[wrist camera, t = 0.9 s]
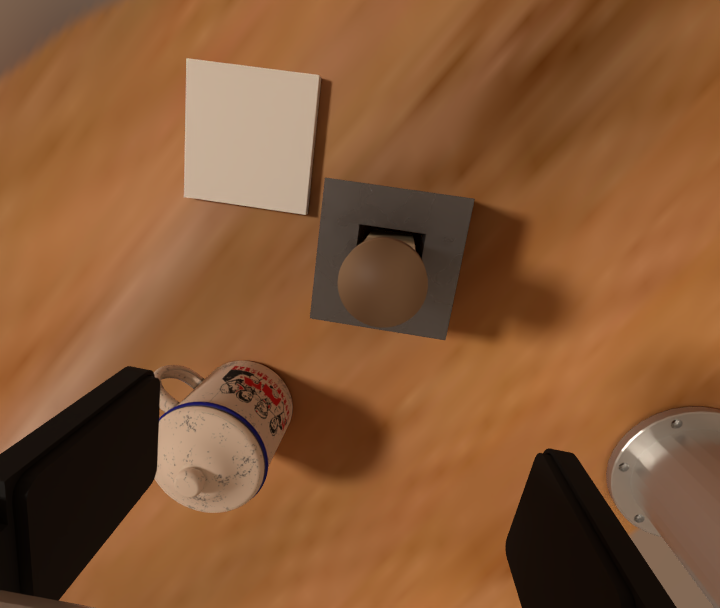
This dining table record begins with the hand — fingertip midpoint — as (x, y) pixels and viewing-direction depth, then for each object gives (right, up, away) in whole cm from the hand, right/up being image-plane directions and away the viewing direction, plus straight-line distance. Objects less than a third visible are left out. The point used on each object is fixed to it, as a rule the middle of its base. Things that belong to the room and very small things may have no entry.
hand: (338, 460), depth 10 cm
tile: (-8, +17, +22) cm, 29 cm away
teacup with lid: (-11, -4, +29) cm, 31 cm away
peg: (+3, +8, +24) cm, 25 cm away
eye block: (+3, +8, +24) cm, 25 cm away
